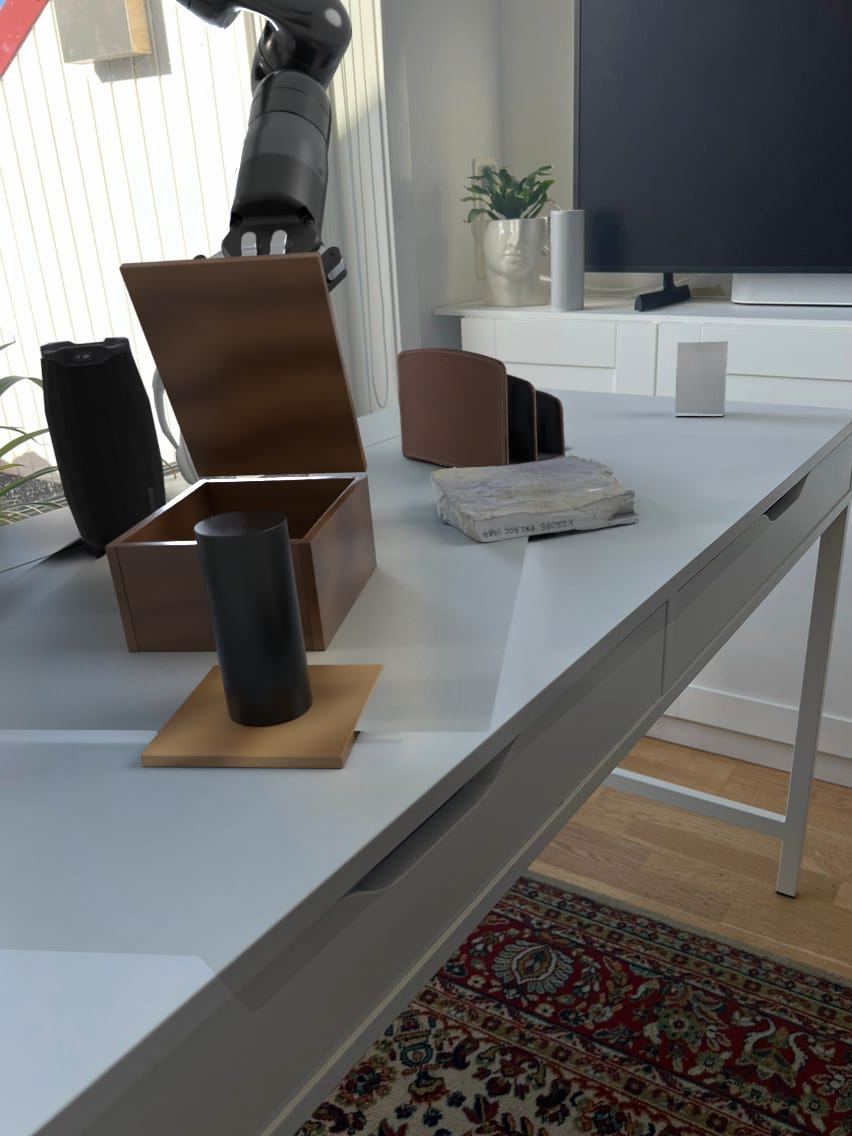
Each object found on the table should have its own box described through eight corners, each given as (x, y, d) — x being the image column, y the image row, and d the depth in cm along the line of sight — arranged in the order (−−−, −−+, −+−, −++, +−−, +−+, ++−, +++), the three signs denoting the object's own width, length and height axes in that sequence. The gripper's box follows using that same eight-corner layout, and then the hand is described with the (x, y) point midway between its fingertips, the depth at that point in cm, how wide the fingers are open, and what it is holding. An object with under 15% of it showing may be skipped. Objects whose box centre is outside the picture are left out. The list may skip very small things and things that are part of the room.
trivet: (141, 766, 56) (139, 754, 55) (216, 675, 66) (214, 664, 66) (343, 768, 54) (341, 756, 54) (385, 674, 65) (384, 663, 65)
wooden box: (326, 660, 68) (310, 542, 64) (130, 661, 69) (104, 546, 66) (378, 574, 83) (367, 474, 80) (217, 576, 85) (200, 479, 82)
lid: (317, 256, 66) (320, 251, 67) (118, 267, 68) (122, 262, 68) (366, 472, 79) (367, 466, 80) (198, 477, 81) (200, 471, 82)
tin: (216, 727, 58) (179, 537, 53) (244, 688, 62) (213, 510, 58) (299, 727, 57) (270, 535, 52) (322, 687, 62) (297, 508, 57)
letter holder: (506, 481, 109) (500, 354, 104) (401, 458, 123) (390, 344, 117) (566, 464, 115) (564, 342, 109) (460, 443, 129) (452, 334, 123)
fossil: (665, 526, 94) (583, 477, 108) (666, 481, 92) (583, 437, 106) (476, 568, 88) (416, 510, 102) (472, 521, 86) (412, 468, 100)
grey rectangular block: (723, 416, 135) (727, 343, 131) (675, 417, 137) (676, 344, 133) (724, 411, 138) (728, 339, 134) (677, 412, 140) (679, 341, 136)
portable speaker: (65, 550, 95) (15, 346, 87) (153, 527, 101) (113, 333, 93) (101, 567, 89) (50, 350, 81) (192, 542, 95) (153, 337, 87)
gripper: (368, 215, 84) (351, 382, 78) (223, 224, 85) (195, 388, 79) (346, 143, 77) (326, 320, 71) (189, 155, 78) (156, 329, 72)
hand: (257, 356), depth 75 cm, fingers closed
